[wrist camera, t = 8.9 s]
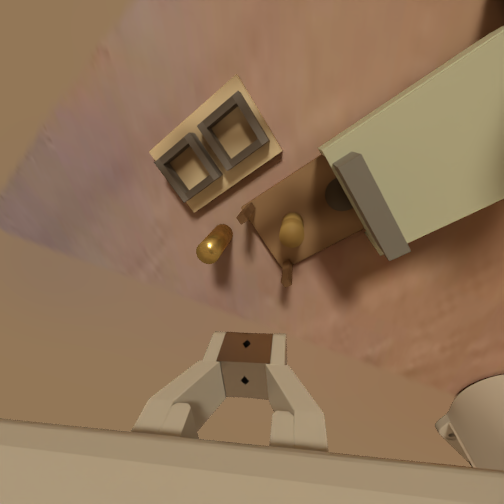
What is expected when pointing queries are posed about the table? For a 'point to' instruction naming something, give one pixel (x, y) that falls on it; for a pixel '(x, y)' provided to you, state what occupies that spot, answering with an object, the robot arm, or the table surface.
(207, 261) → the pin
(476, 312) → the table surface
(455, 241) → the table surface
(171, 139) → the tan socket tray
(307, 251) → the base
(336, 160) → the lid
